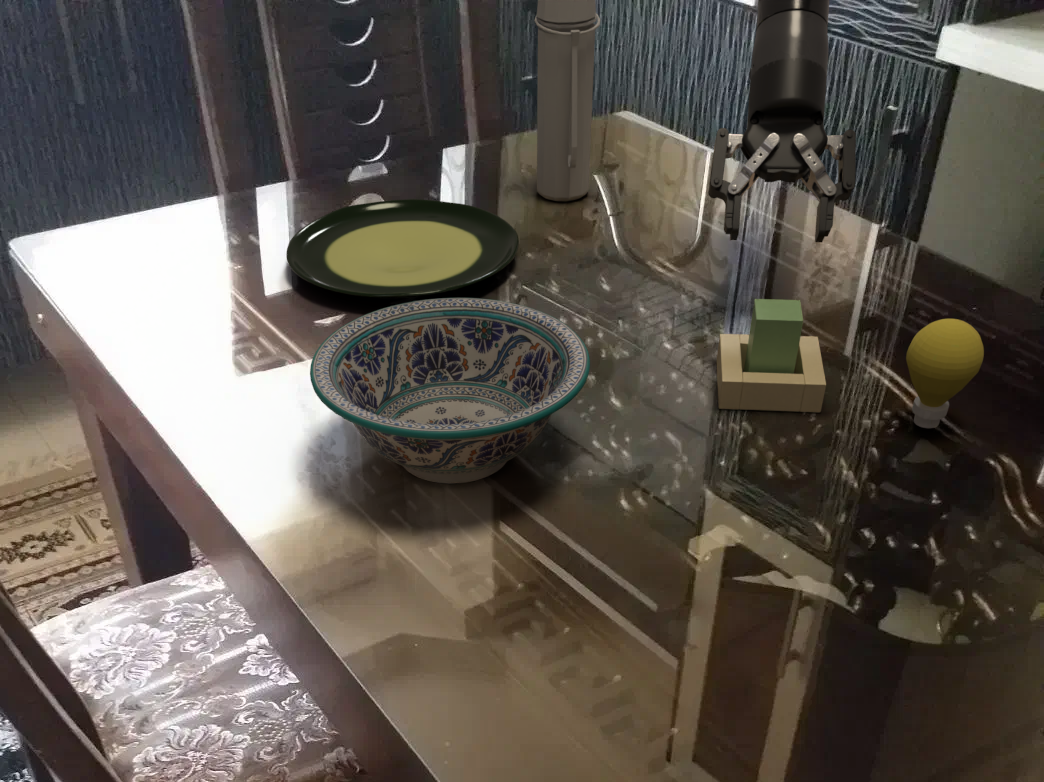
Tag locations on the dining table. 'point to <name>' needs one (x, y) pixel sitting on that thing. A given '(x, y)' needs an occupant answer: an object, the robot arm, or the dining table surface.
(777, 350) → the post
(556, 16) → the water bottle
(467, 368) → the bowl
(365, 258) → the plate
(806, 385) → the socket pad
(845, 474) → the dining table surface
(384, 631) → the dining table surface
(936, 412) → the light bulb
